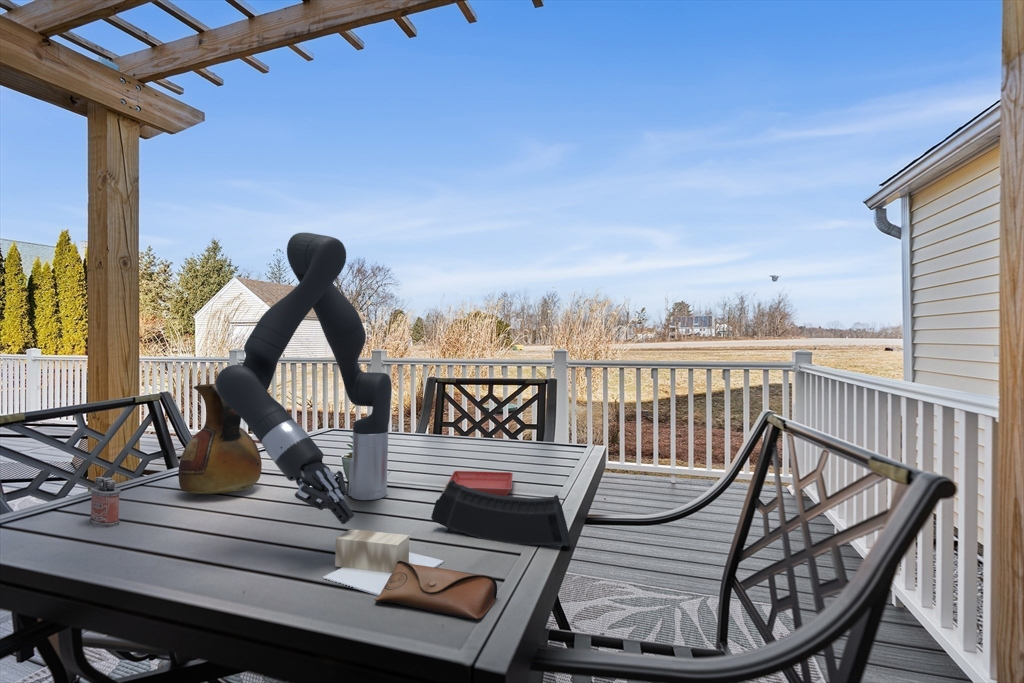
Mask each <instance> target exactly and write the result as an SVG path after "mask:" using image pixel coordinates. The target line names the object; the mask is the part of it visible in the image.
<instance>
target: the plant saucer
mask: <svg viewBox="0 0 1024 683" xmlns="http://www.w3.org/2000/svg"><path fill="white" fill-rule="evenodd" d="M513 475H514V473H513V472H510V471H509V472H505V471H504V472H502V471H501V472H500V471H471V470H454V471H453V473H452V474H451V476H450V478H449V480H448V481H447V483H446V484H448V483H449V481H451V480H454V481H455V483H457V484H459V485H464V486H465V487H468V488H471V489H474V490H478V491H481V492H485V493H490V494H495V495H501V496H508V494H510V492H511V491H512V489H513V477H514V476H513Z"/></svg>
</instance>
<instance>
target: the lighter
mask: <svg viewBox="0 0 1024 683" xmlns="http://www.w3.org/2000/svg"><path fill="white" fill-rule="evenodd" d="M94 483H95V484H97V485H98V486H96V487H91V488H90V493H91V500H90V501H91V505H90V506H91V508H90V517H89V524H90V525H92V526H95V527H99V528H105V529H106V528H110V529H111V528H115V527H118V526H119V525H120V519H119V515H120V514H119V512H120V495H121V489H119V488H116V487H115V486H116V480H114V479H113V478H112V477H110V476H109V477H103V476H96V478H94Z"/></svg>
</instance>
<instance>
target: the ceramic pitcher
mask: <svg viewBox="0 0 1024 683" xmlns="http://www.w3.org/2000/svg"><path fill="white" fill-rule="evenodd" d="M193 389H194V390H196V391H197V392H198V393H199V394H200V396H201V397H202V399H203V401H204V405H205V412H206V413H205V423H204V426H203V427H202V428H201V429H200V430H199V431H198V432H196V433H195V434H194V435H193V436H192V437H191V439H189V441H188V443H187V444H186V446H185V448H184V450H183V451H182V453H181V457H180V459H179V465H178V472H177V473H178V476H177V477H178V485H179V488H180V489H181V490H182V491H184V492H186V493H189V494H198V495H215V494H225V493H226V494H227V493H233V492H241V491H244V490H246V491H247V490H249V489H250V488H252V487H253V486H255V484H256V483H258V481H260V478H261V476H262V465H263V464H262V457H261V454H260V450H259V448H258V445H257V444H256V441H255V440H254V438H252V437H251V435H250V434H249V433H248V432H247V431H246V430H245V429H243V428H242V427H241V422H242V418H241V417H240V416H239V415H238V414H237V413H236V412H235V411H234V410H233V409H232V408H231V407H230V406H229V405H228V404H227V403H226V402H225V401H224V400H223V399H222V398H221V396H220V395H219V393H218V391H217V388H216V383H206V384H205V383H204V384H197V385H194V386H193Z"/></svg>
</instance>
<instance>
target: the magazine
mask: <svg viewBox="0 0 1024 683" xmlns="http://www.w3.org/2000/svg"><path fill="white" fill-rule="evenodd" d="M448 482H449V483H448ZM448 482H447V483H448V484H447V483H446V484H445V486H444V488H443V490H442V493H441V495H440V496H439V498H437V499H436V501H435V504H434V506H433V509H432V513H431V516H430V517H431V518H430V519H431V520H432V522H435V523H437V524H439V525H440V526H444V527H445V528H447V530H446V533H449V532H450V531H455V532H459V533H462V534H464V535H468V536H471V537H474V538H479V539H483V540H486V541H487V540H488V541H493V542H498V543H500V542H501V543H506V544H514V545H525V546H528V545H529V546H535V545H536V546H565V547H566V546H569V545H570V543H571V537H570V534H569V528H568V526H567V524H568V523H567V520H566V516H565V514H564V510H563V509H564V508H563V505H562V504H561V501H560V497H559V495H557V494H556V495H554V496H547V497H524V496H523V497H520V496H508V495H506V496H501V495H495V494H490V493H485V492H481V491H478V490H474V489H471V488H468V487H465V486H464V485H459V484H457V483H455V481H454V480H451V481H449V480H448Z"/></svg>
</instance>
